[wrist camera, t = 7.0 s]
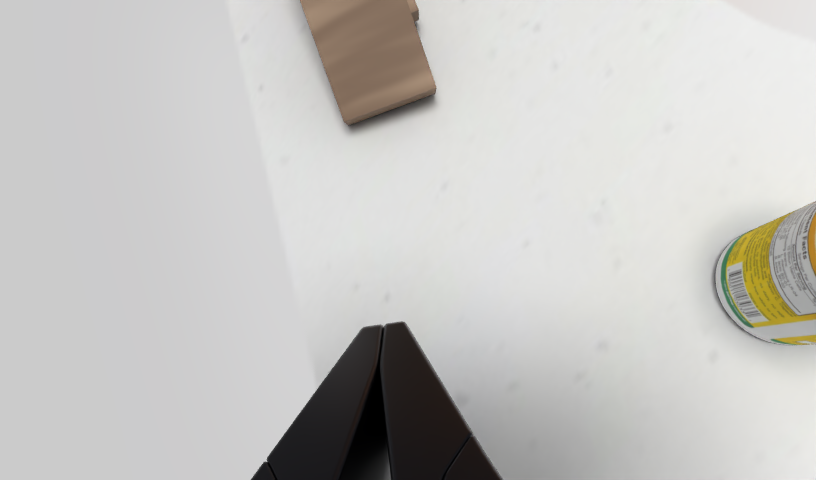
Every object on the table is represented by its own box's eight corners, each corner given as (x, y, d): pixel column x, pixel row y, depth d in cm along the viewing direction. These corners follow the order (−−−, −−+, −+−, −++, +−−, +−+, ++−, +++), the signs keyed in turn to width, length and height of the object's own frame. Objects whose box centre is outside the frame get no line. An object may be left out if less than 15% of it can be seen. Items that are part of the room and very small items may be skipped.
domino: (436, 87, 24) (368, -114, 23) (344, 121, 24) (272, -75, 23) (435, 93, 26) (371, -94, 25) (348, 125, 26) (282, -59, 25)
